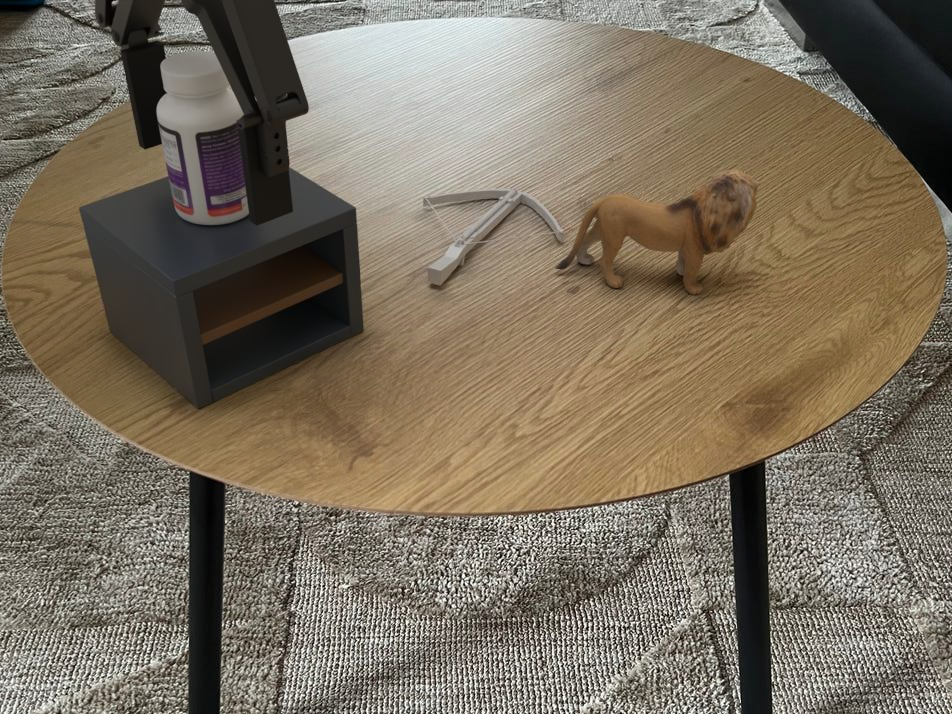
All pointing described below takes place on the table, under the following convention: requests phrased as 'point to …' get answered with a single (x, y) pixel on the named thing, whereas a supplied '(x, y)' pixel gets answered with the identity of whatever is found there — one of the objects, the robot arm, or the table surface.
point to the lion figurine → (669, 225)
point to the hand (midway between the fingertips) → (213, 178)
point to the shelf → (225, 285)
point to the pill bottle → (201, 139)
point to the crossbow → (481, 225)
